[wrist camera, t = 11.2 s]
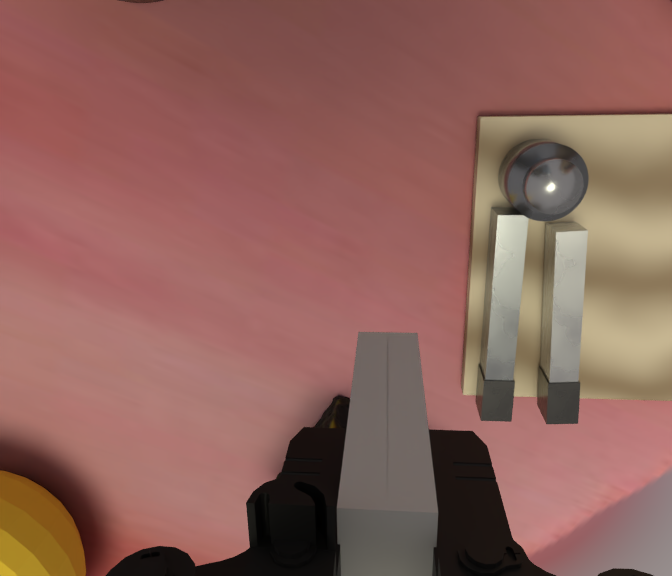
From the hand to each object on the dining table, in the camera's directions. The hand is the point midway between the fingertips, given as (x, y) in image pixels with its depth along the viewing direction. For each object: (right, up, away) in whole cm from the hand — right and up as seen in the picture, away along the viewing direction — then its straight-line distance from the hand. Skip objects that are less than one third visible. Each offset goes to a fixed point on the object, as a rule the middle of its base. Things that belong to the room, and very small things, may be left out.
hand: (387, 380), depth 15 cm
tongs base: (+11, +3, +23) cm, 25 cm away
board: (+16, +4, +23) cm, 28 cm away
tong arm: (+12, +2, +22) cm, 26 cm away
